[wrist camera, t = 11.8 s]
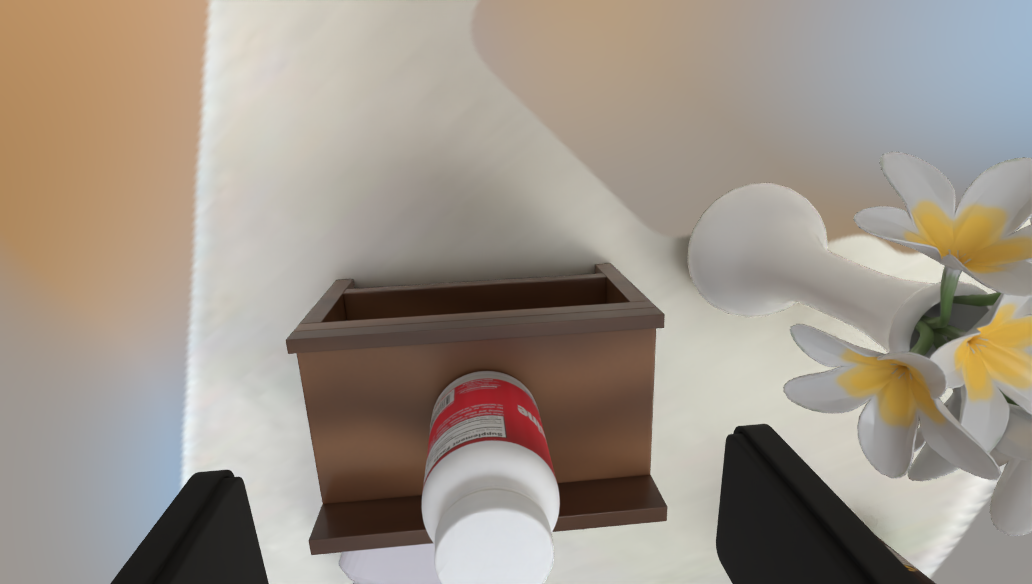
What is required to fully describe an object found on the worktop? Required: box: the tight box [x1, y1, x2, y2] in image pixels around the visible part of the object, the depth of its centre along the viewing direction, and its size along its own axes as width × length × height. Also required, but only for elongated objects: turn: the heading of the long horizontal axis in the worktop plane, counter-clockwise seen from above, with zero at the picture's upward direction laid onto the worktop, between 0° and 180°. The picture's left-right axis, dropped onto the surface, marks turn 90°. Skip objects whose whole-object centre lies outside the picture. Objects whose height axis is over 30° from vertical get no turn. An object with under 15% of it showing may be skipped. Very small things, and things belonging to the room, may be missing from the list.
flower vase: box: [688, 152, 1032, 536], centre depth 29 cm, size 13×18×25 cm
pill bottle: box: [422, 371, 560, 584], centre depth 26 cm, size 6×6×11 cm
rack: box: [286, 263, 667, 555], centre depth 35 cm, size 12×20×13 cm, turn 92°
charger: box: [339, 543, 442, 584], centre depth 43 cm, size 5×9×15 cm
